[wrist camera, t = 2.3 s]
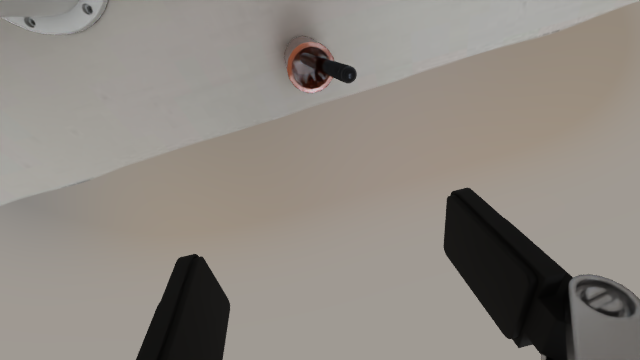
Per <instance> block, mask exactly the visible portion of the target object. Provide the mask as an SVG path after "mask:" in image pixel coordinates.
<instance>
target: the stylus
mask: <svg viewBox="0 0 640 360" xmlns="http://www.w3.org/2000/svg"><path fill="white" fill-rule="evenodd" d="M300 61H301V63H303V64H305V65H307V66H309V67H311V68H314V69H316V70H318V71H320V72H323V73H325V74H327V75H329V76H331V77H334V78H336V79H338V80H340V81H343V82H345V83H351V82H353V81H354V80H355V79H356V75H357V73H356V70H355V69H354V68H353V67H351V66H348V65H345V64H341V63H338V62H335V61H332V60H328V59H325V58H322V57H318V56H315V55H312V54H309V53H302V54H301V55H300Z"/></svg>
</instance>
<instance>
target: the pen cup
mask: <svg viewBox="0 0 640 360" xmlns="http://www.w3.org/2000/svg"><path fill="white" fill-rule="evenodd" d="M302 53H309V54H312V55H315V56H318V57H322V58H325V59H328V60H332V61H334V58H333V56H332V54H331V53H330V51H329V50H328V49H327V48H326V47H325V46H323V45H322V44H321V43H319V42H317V41H315V40H314V39H312V38H310V37H306V36H299V37H296V38H294V39H292V40H291V41H290V42H289V43H288V45H287V47H286V49H285V53H284V60H285V64H286V68H287V72H288V76H289V79H290V80H291V82H292V83H293V85H294V86H295V87H296V88H298V89H299V90H301V91H303V92H308V93H314V92H319V91H321V90H323V89H324V88H325V87H327V86H328V85H329V83H330V82H331V80H332V78H333V77H331V76H329V75H327V74H325V73H323V72H320V71H318V70H316V69H314V68H311V67H309V66H307V65H305V64H303V63H301V61H300V55H301V54H302Z"/></svg>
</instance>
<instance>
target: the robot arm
mask: <svg viewBox="0 0 640 360" xmlns="http://www.w3.org/2000/svg"><path fill="white" fill-rule="evenodd" d="M107 2H108V0H0V17H1V18H3V19H5V20H7V21H8V22H10V23H12V24H14V25H17V26H19V27H22V28H24V29H26V30H29V31H33V32H37V33H41V34H50V35H64V34H72V33H76V32H80V31H83V30H85V29H86V28H88V27H90V26H92V25H93V24H94V23H95V22H96V21H97V20H98V19H99V18H100V16H101V15H102V13H103V12H104V10H105V8H106V5H107ZM90 7H92V10H93V12H92V11H91V10H90ZM34 21H35V22H34ZM444 250H445V253H446V255H447V257H448V258H449V259H450V261H451V262H452V263H453V265H454V266H455V268H456V269H457V270H458V272H459V273H460V275H461V276H462V277H463V279H464V280H465V282H466V283H467V284H468V286H469V287H470V289H471V290H472V291H473V293H474V294H475V295H476V297H477V298H478V300H479V301H480V302H481V304H482V305H483V307H484V308H485V309H486V311H487V312H488V313H489V315H490V316H491V317H492V319H493V320H494V322H495V323H496V325H497V326H498V327H499V329H500V330H501V332H502V333H503V334H504V335H505V336H506V337H507V338H508V339H512V340H513V341H514V342H515V344H516V345H517V346H518V348H521V347H524V346H528V345H532V344H533V345H534V346H535V347H536V349H537V350H538V351H539V353H540V354H541V360H640V299H639V298H638V297H637V296H636V295H635V294H634V293H633V292H631V291H630V290H629V289H627V288H625V287H624V286H623V285H621V284H619V283H617V282H615V281H613V280H610V279H608V278H604V277H601V276H596V275H579V276H576V277H574V278H573V277H572V276H570V275H569V274H568V273H567V272H566V271H565V270H564V269H563V268H561V267H560V266H559V265H558V264H557V263H556V262H555V261H553V260H552V259H551V258H550V257H549V256H548V255H546V254H545V253H544V252H543V251H542V250H541V249H540V248H539V247H537V246H536V245H535V244H534V243H533V242H532V241H530V239H528V238H527V237H526V236H525V235H524V234H523V233H522V232H520V231H519V230H518V229H517V228H516V227H515V226H514V225H512V224H511V223H510V222H509V221H508V220H506V219H505V218H503V217H502V216H501V215H500V214H499V213H497V212H496V211H495V210H494V209H493V208H492V207H491V206H490V205H488V204H487V203H486V202H485V201H484V200H483V199H482V198H481V197H479V196H478V195H477V194H476V193H475V192H474V191H473V190H471V189H470V188H464V189H460V190H456V191H453V192H452V193H451V196H448V198H447V206H446V220H445V235H444ZM229 312H230V303H229V300H228V298H227V296H226V295H225V293H224V291H223V290H222V288H221V286H220V285H219V283H218V281H217V280H216V278H215V276H214V275H213V273H212V271H211V270H210V268H209V267H208V265H207V263H206V261H205V260H204V258H203V257H199V256H198V255H196V254H193V255H189V256H184V257H180V258H179V259H178V260H177V262H176V264H175V267H174V269H173V272H172V274H171V277H170V279H169V282H168V284H167V287H166V289H165V292H164V294H163V297H162V299H161V302H160V303H159V305H158V306H157V309H156V311H155V314H154V317H153V319H152V321H151V324H150V326H149V329H148V331H147V334H146V336H145V339H144V341H143V344H142V346H141V349H140V351H139V354H138V356H137V359H136V360H222V359H223V352H224V345H225V339H226V332H227V325H228V318H229Z"/></svg>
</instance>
